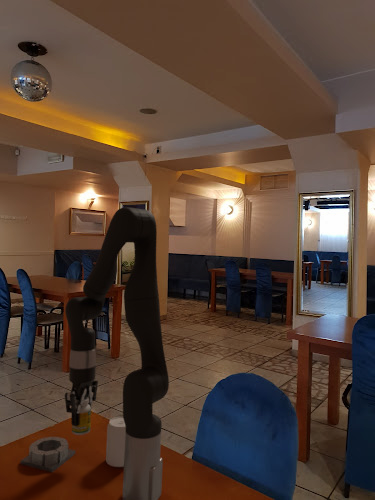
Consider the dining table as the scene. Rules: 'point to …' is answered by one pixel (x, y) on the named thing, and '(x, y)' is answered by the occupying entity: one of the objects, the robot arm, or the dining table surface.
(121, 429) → the beverage can
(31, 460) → the rosette collar
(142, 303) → the robot arm
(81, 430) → the supplement bottle
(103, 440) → the dining table surface
